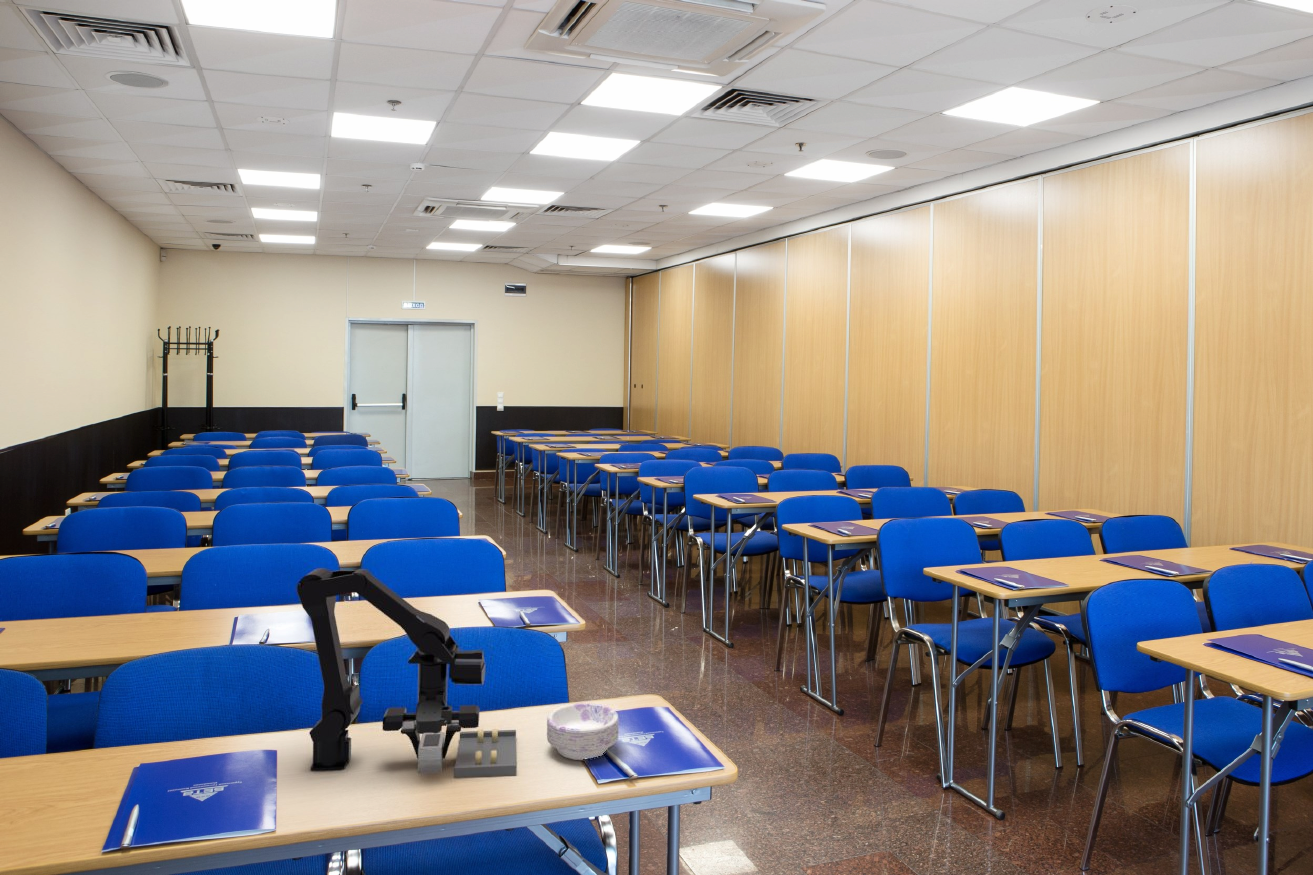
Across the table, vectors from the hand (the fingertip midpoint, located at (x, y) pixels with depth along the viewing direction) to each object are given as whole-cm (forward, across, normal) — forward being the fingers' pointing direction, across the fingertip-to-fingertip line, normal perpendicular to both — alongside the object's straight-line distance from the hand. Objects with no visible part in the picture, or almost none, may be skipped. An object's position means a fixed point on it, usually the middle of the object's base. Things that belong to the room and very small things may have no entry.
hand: (431, 758), depth 175 cm
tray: (+1, +11, +2) cm, 11 cm away
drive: (+1, 0, 0) cm, 1 cm away
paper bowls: (+1, +31, +3) cm, 31 cm away
